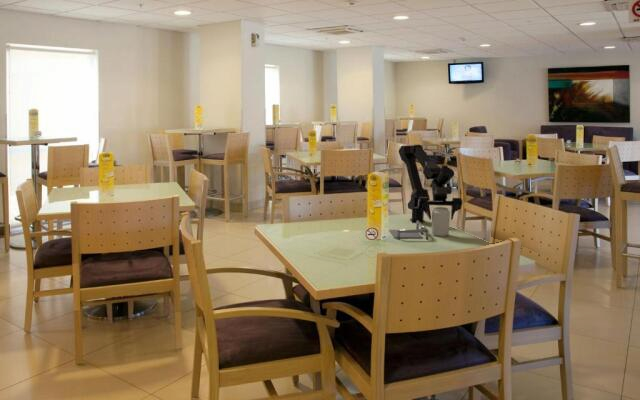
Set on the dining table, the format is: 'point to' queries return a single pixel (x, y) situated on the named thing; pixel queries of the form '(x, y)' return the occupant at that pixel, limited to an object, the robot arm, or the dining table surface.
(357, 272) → the dining table surface
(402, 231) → the rail
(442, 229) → the can
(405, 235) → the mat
